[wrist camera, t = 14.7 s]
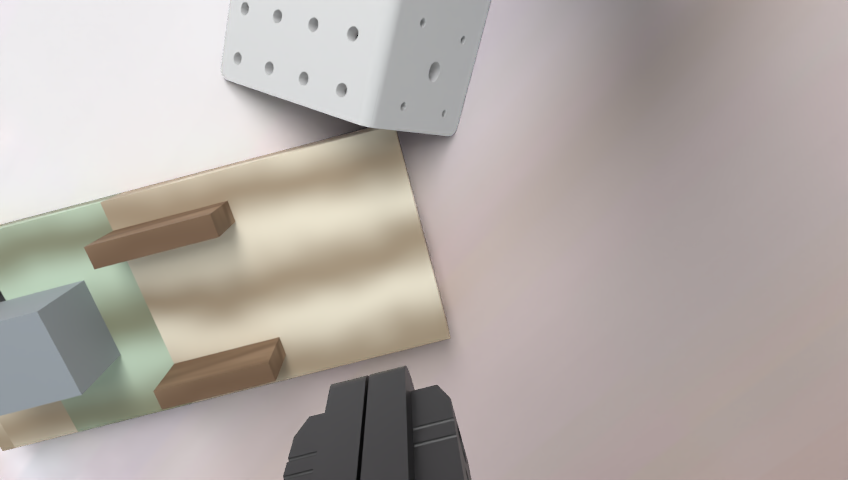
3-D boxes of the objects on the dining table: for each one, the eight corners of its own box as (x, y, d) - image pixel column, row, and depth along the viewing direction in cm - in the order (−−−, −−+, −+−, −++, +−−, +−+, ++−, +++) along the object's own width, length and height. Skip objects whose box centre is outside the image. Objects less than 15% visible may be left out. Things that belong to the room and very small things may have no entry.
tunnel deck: (-77, 245, 38) (-168, 278, 32) (393, 121, 37) (393, 130, 31) (28, 425, 43) (-33, 485, 37) (446, 320, 42) (455, 363, 36)
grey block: (-13, 305, 37) (-74, 340, 32) (83, 280, 36) (36, 311, 32) (28, 378, 38) (-23, 421, 34) (120, 354, 38) (81, 394, 33)
